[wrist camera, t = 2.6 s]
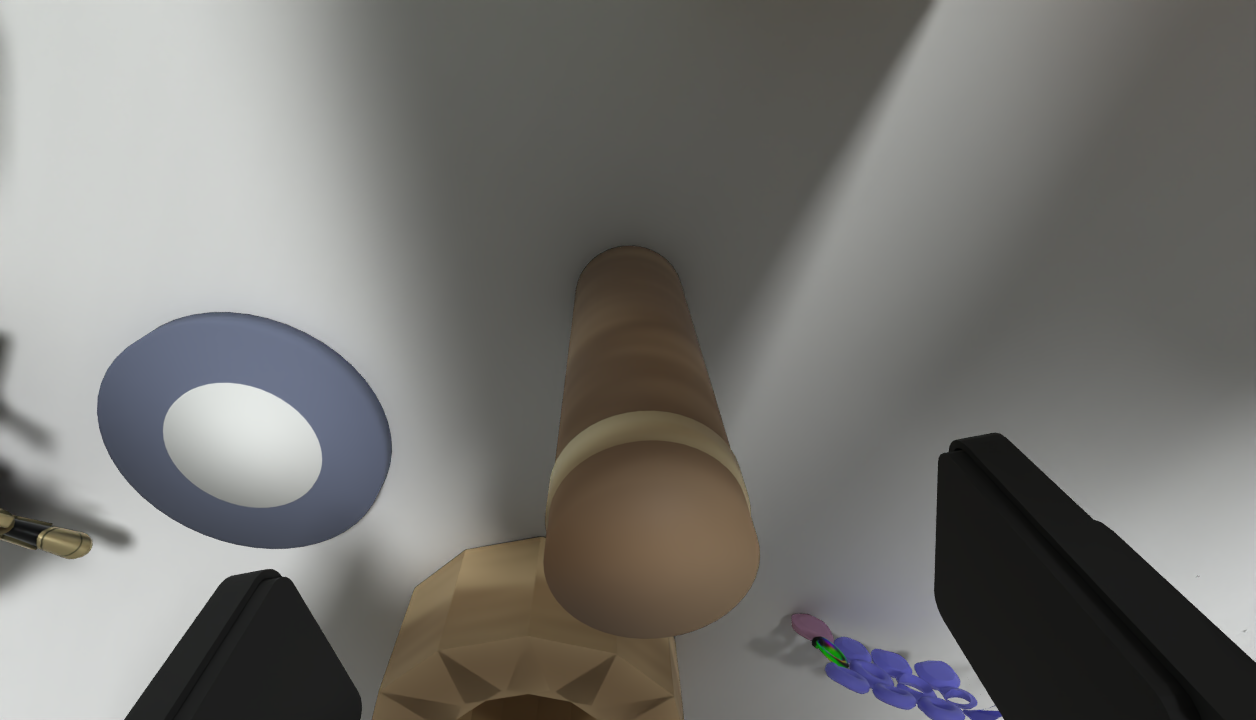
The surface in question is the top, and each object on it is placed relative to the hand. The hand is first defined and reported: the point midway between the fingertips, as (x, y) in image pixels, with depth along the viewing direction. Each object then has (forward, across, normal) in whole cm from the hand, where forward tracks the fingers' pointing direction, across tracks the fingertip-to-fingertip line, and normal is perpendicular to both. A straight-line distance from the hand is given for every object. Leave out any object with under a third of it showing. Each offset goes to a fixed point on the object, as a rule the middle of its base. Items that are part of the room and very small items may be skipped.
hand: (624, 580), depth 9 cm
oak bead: (+10, +5, +12) cm, 17 cm away
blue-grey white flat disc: (+10, +11, +1) cm, 15 cm away
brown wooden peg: (+10, -1, -1) cm, 10 cm away
